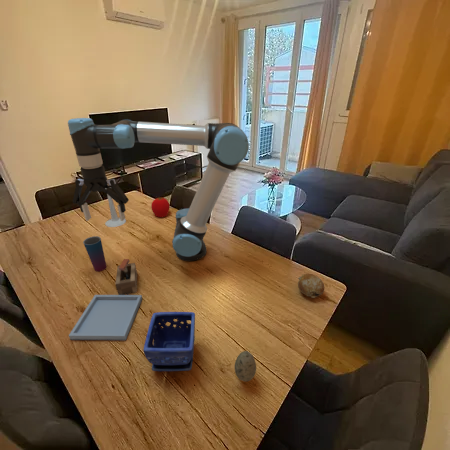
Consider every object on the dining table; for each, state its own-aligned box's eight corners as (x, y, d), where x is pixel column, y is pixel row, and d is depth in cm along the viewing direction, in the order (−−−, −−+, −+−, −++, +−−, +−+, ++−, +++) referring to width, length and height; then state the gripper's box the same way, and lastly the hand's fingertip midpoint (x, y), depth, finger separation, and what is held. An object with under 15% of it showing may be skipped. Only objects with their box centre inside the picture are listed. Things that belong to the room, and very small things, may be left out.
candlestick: (105, 220, 154) (93, 173, 140) (127, 217, 157) (117, 171, 143) (103, 230, 143) (89, 180, 129) (126, 226, 147) (116, 178, 132)
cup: (102, 273, 109) (93, 245, 102) (89, 271, 110) (79, 243, 103) (111, 264, 115) (104, 237, 108) (98, 262, 116) (90, 235, 109)
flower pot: (198, 335, 81) (196, 310, 76) (195, 376, 70) (192, 350, 64) (157, 337, 81) (152, 311, 75) (148, 378, 69) (141, 351, 64)
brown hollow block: (137, 292, 99) (134, 280, 96) (118, 295, 97) (115, 284, 94) (137, 273, 109) (134, 262, 106) (120, 276, 107) (117, 265, 104)
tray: (142, 299, 96) (141, 295, 95) (125, 340, 80) (124, 335, 79) (96, 299, 96) (95, 294, 95) (70, 340, 80) (68, 335, 79)
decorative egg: (254, 365, 72) (256, 343, 68) (256, 387, 67) (258, 365, 62) (234, 365, 73) (234, 343, 68) (234, 386, 67) (234, 364, 63)
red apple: (158, 222, 152) (155, 203, 146) (150, 216, 159) (147, 197, 153) (174, 216, 159) (172, 198, 153) (165, 211, 166) (163, 193, 160)
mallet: (134, 276, 107) (130, 258, 103) (129, 286, 102) (124, 268, 97) (127, 276, 107) (123, 258, 103) (122, 286, 102) (117, 267, 97)
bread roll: (301, 302, 98) (309, 296, 91) (291, 278, 103) (298, 271, 97) (322, 298, 100) (332, 291, 94) (312, 274, 106) (320, 267, 99)
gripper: (130, 163, 90) (140, 215, 100) (62, 163, 90) (79, 215, 100) (123, 168, 83) (134, 223, 94) (49, 168, 84) (69, 223, 94)
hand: (105, 219), depth 97 cm, fingers open, 13 cm apart
